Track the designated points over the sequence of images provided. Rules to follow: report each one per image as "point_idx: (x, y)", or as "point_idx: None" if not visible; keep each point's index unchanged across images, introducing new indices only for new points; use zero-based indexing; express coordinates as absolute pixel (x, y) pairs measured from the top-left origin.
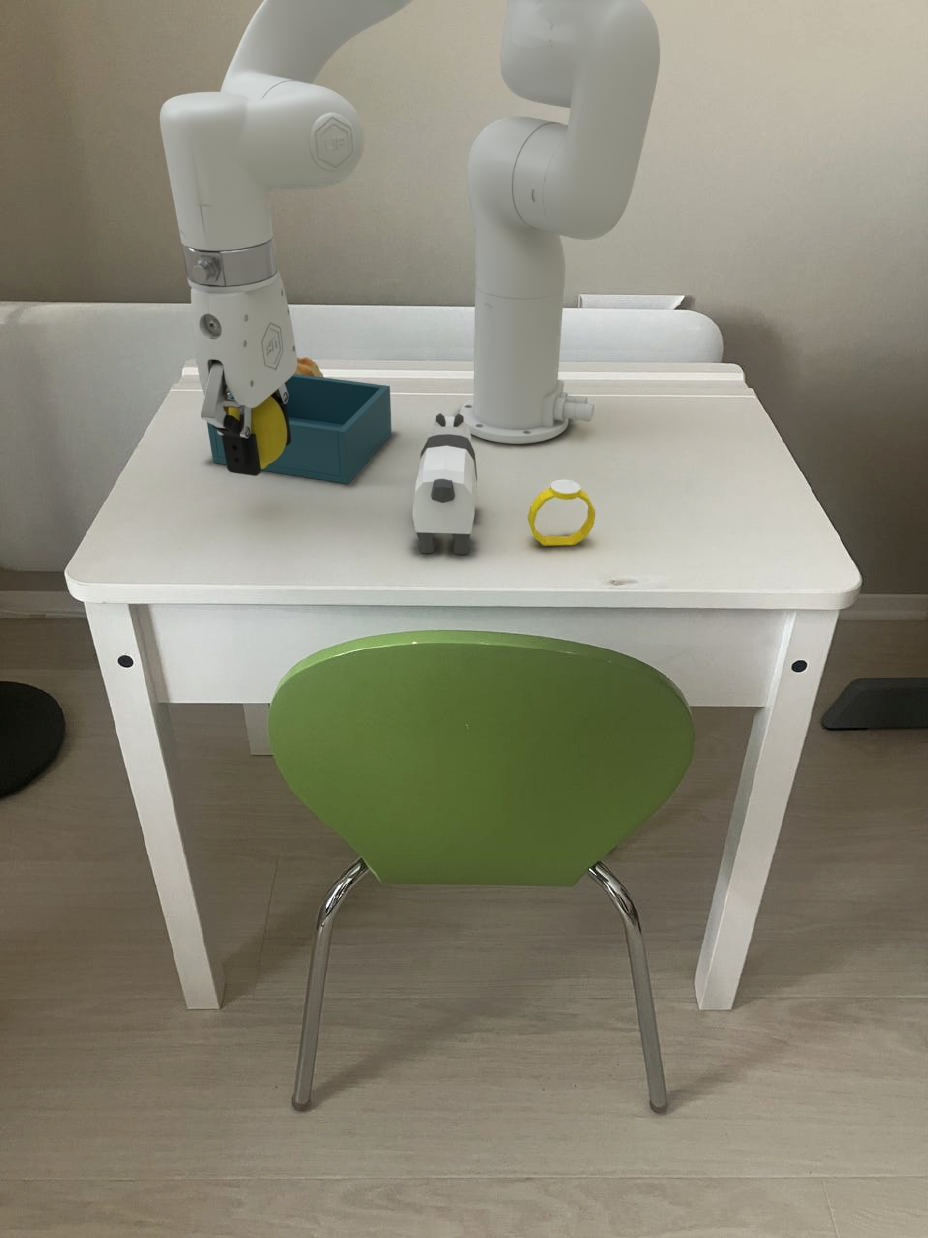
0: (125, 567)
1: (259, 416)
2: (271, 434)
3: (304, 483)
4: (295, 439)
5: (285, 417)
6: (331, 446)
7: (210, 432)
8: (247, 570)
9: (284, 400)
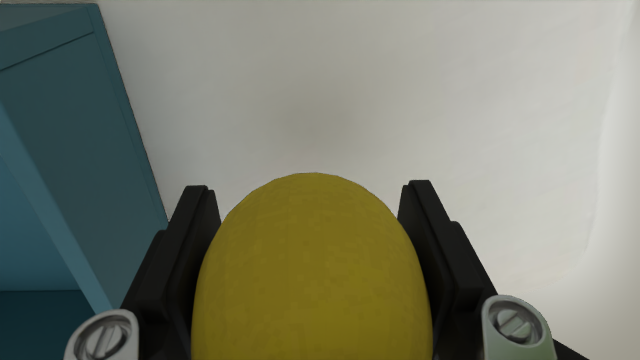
0: (542, 246)
1: (409, 346)
2: (383, 240)
3: (162, 115)
4: (94, 195)
5: (176, 259)
6: (47, 83)
7: None
8: (565, 61)
9: (111, 324)
